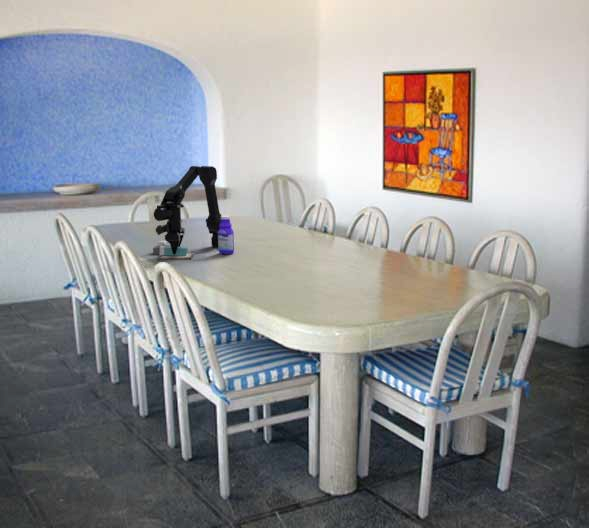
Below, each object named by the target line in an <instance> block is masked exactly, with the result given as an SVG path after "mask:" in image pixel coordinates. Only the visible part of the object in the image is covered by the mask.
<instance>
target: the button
mask: <svg viewBox="0 0 589 528" xmlns="http://www.w3.org/2000/svg"><path fill="white" fill-rule="evenodd" d="M156 245H157V246H158V247H160V246H166V245H167V241H166V240H158V241H157V244H156Z"/></svg>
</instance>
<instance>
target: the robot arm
mask: <svg viewBox="0 0 589 528" xmlns="http://www.w3.org/2000/svg"><path fill="white" fill-rule="evenodd" d="M217 176H218V171H217V168H216V167H214V166H212V165H211V166H209V165H201V166H199V165H198V166H197V165H191V166H190V167H189V168H188V170H187V172H186V173H185V174H184V175H183V176H182V177H181V179H180V180H179V181H178V182H177V184H175V185H174V186H171V187H170V188H169V189H167V190H166V191H165V193H164V195H163V198H162V200H161V203H160V205H159V204H158V205H156V208H155V209H154V211H153V217H154V219H155V220H156V221H157V222H162V221H166V223H164V224H162V225H161V224H159V225H157V226H156V227H155V233H156V235H157V236H160V235H161V234H164V233H166V234H165V235H164V241H166V242H167V243H169V245H171V249H172V252H173V254H176V252H177V248H178V247H181V245H182V242H183V239H184V237H185V234H186V233H185V232H186V231H185V228H184V227H182V222H183V219H182V212H181V211H182V210H181V209H183V208H184V207H185V205H184V204H182V202H183V200H184V198H185V196H186V191H187V190H188V189H189V188H190V186H191V185H192V184H193V183H194V181H195V180H196V179H197V178H199V180H200V182H201V183H202V185H203V187H204V191H205V197H206V204H207V210H208V217H207V218H206V219H205V223H206V224H205V225H206V227H207V229H208V234H212V236H211V238H210V239H211V242H210V243H211V248H218V231H219V229H220V227H219V225H220V223H221V216H223V215H222V214H221V213H220V209H219V208H220V207H219V202H218V201H219V200H218V195H217V190H216V181H217V179H218V177H217Z"/></svg>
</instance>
